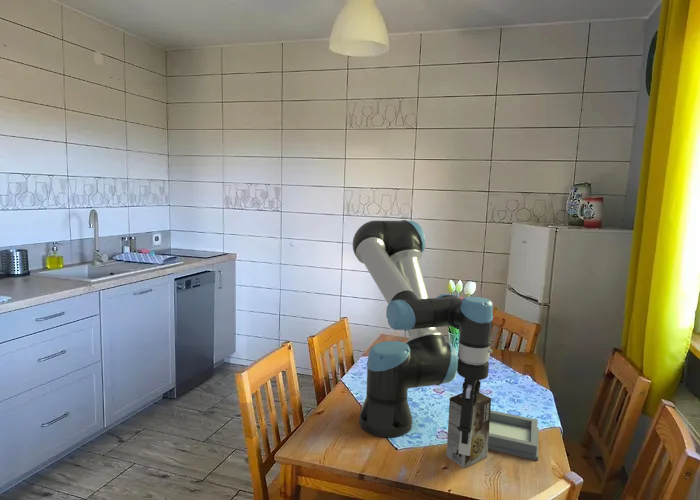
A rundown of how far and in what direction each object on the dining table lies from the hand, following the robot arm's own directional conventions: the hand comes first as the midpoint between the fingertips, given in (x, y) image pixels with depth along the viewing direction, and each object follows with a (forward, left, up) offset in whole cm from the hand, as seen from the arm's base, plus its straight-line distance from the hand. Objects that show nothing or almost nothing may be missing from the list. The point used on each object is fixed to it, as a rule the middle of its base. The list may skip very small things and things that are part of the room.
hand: (467, 442), depth 120 cm
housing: (+9, +14, -4) cm, 17 cm away
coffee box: (0, 0, -4) cm, 4 cm away
